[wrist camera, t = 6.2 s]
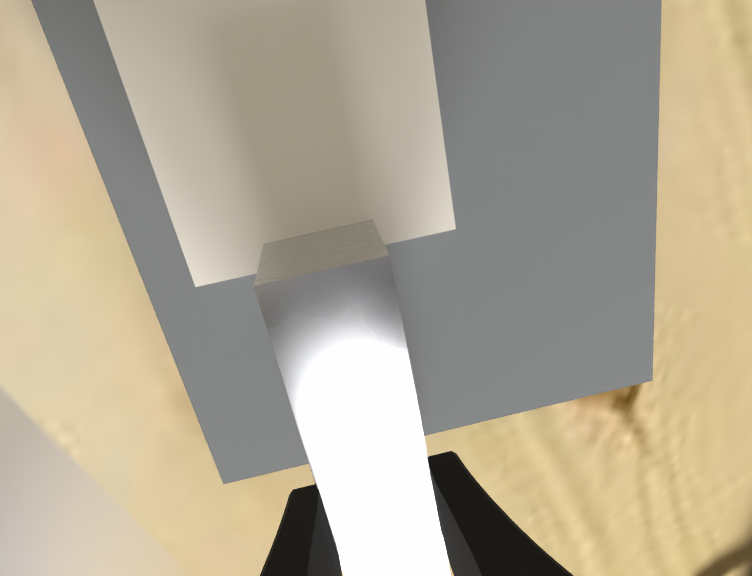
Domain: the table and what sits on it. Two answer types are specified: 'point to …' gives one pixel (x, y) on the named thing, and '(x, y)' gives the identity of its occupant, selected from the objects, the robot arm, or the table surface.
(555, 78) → the mat
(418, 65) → the tile
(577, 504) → the table surface
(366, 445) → the bar
